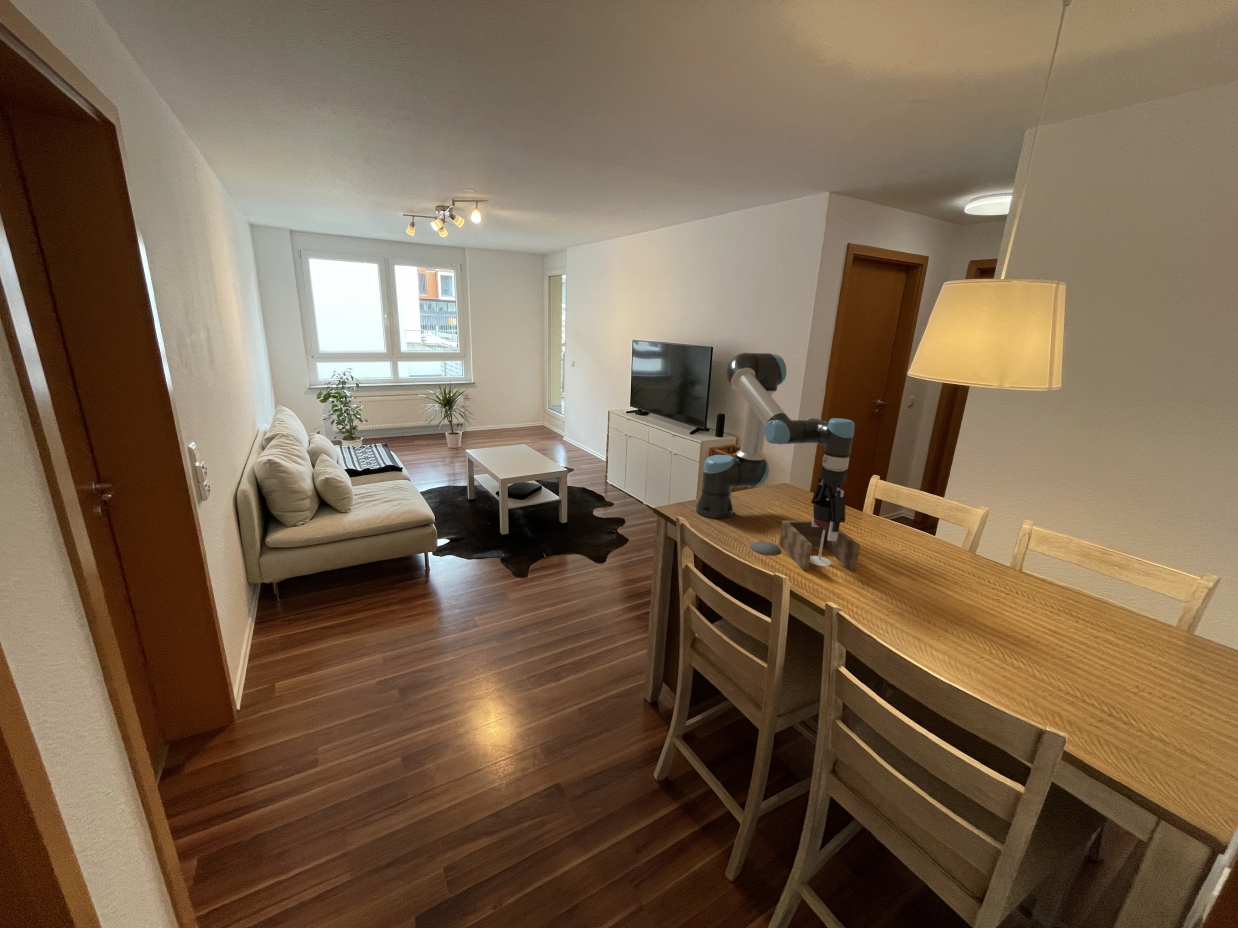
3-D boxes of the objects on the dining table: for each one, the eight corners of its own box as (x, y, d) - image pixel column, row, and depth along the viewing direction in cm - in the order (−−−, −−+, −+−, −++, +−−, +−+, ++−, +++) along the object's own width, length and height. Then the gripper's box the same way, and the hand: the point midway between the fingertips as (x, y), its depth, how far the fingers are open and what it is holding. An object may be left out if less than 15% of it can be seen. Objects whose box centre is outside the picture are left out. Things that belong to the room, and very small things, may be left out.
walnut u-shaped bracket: (779, 544, 176) (782, 520, 173) (825, 544, 177) (829, 521, 175) (803, 570, 156) (807, 544, 154) (855, 571, 158) (860, 545, 155)
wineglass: (837, 566, 160) (847, 509, 155) (810, 565, 160) (819, 507, 155) (827, 556, 168) (837, 500, 162) (801, 554, 168) (810, 499, 163)
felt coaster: (746, 542, 176) (746, 541, 176) (774, 542, 177) (774, 541, 176) (756, 554, 166) (756, 553, 166) (785, 555, 167) (785, 554, 167)
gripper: (806, 458, 166) (797, 519, 172) (841, 478, 144) (829, 548, 150) (828, 459, 167) (818, 520, 173) (865, 479, 145) (853, 548, 151)
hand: (823, 533), depth 161 cm, fingers open, 10 cm apart
